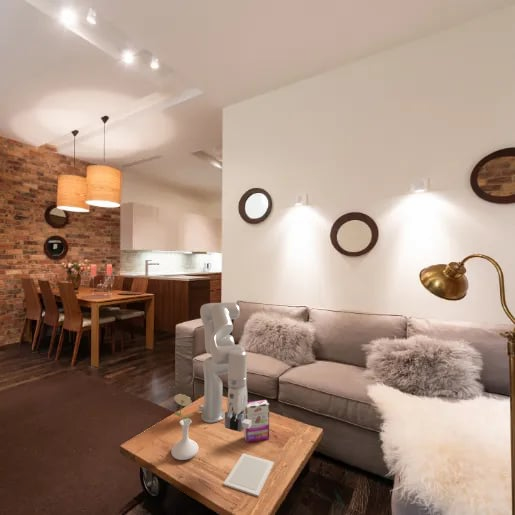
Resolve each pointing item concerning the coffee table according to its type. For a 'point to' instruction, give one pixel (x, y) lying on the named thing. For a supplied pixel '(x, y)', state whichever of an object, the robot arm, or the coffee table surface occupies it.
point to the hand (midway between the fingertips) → (236, 425)
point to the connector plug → (241, 421)
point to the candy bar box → (257, 421)
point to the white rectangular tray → (249, 474)
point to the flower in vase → (184, 433)
